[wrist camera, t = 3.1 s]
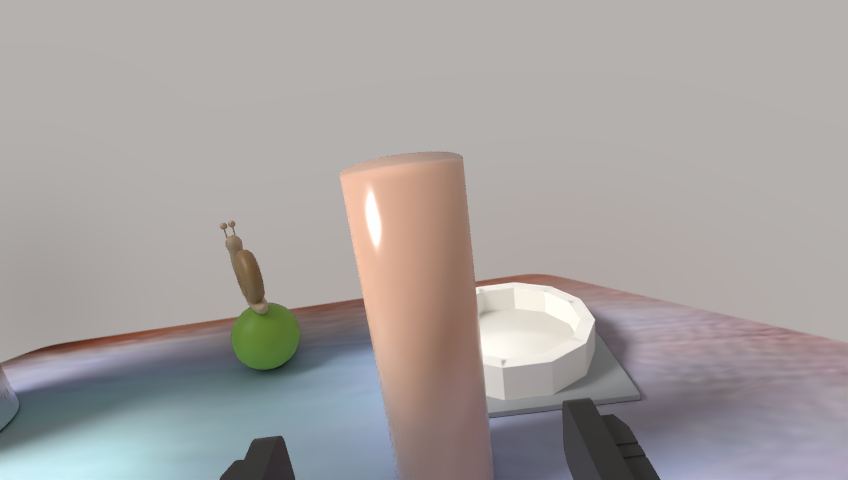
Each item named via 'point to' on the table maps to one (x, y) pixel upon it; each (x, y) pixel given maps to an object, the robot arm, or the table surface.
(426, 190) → the peach capsule cylinder
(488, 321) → the ceramic dish
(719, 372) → the table surface
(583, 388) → the felt mat
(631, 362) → the table surface
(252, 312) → the snail figurine
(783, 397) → the table surface
